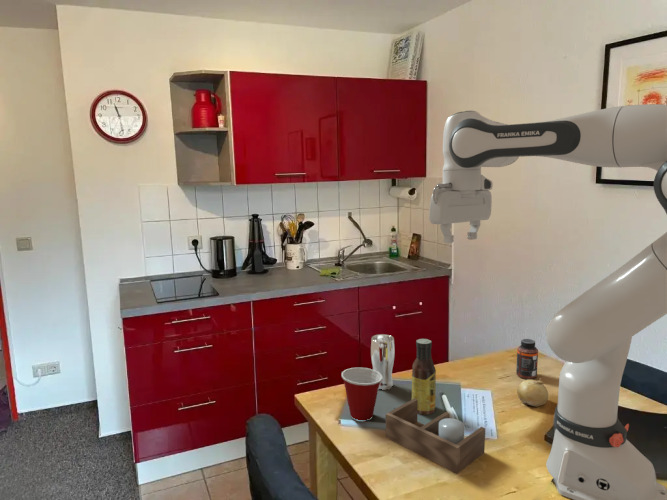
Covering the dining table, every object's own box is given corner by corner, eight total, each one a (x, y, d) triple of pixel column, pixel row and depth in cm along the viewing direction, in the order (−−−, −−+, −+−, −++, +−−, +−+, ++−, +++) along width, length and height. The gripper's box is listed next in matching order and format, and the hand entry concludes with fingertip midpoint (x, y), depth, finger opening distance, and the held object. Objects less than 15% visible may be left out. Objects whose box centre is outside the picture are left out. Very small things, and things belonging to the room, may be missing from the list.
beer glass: (398, 383, 150) (398, 336, 148) (388, 393, 145) (388, 344, 142) (377, 378, 154) (377, 332, 151) (367, 387, 148) (366, 339, 146)
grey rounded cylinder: (468, 452, 113) (469, 424, 112) (454, 463, 110) (455, 434, 108) (447, 443, 117) (448, 415, 116) (433, 452, 114) (433, 424, 112)
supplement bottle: (539, 379, 151) (542, 344, 149) (520, 380, 151) (521, 344, 149) (532, 371, 157) (534, 337, 155) (513, 371, 157) (515, 337, 155)
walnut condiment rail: (484, 456, 113) (485, 428, 112) (456, 478, 106) (457, 448, 105) (414, 423, 128) (414, 398, 127) (385, 440, 121) (385, 414, 119)
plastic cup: (391, 419, 130) (391, 376, 128) (356, 431, 125) (356, 387, 123) (367, 402, 139) (367, 362, 137) (334, 413, 134) (333, 371, 132)
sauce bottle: (435, 419, 130) (436, 346, 126) (410, 417, 131) (411, 345, 127) (435, 406, 136) (436, 337, 133) (412, 405, 137) (412, 336, 134)
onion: (530, 412, 132) (532, 387, 131) (510, 399, 140) (511, 375, 138) (554, 406, 135) (555, 382, 134) (532, 393, 142) (534, 370, 141)
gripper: (445, 183, 109) (444, 246, 111) (496, 182, 122) (495, 238, 124) (422, 183, 114) (422, 243, 115) (474, 182, 127) (473, 236, 129)
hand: (460, 241), depth 120 cm, fingers open, 8 cm apart
